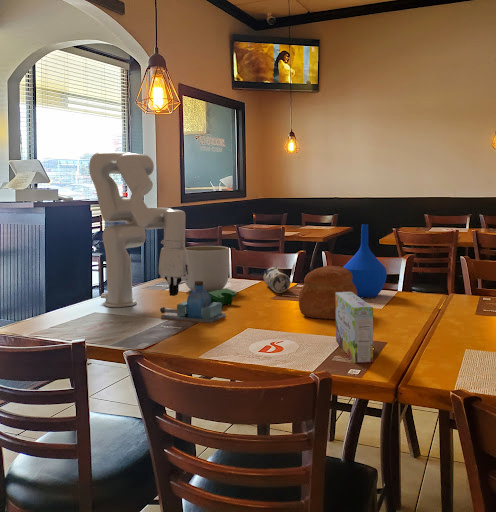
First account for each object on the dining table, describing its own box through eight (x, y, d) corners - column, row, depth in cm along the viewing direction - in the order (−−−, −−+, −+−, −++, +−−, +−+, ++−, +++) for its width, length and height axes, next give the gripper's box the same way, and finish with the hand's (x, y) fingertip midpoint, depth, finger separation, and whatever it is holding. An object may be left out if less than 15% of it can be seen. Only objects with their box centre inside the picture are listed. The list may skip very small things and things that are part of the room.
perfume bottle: (196, 312, 202) (195, 279, 201) (211, 313, 200) (210, 280, 198) (187, 316, 197) (186, 282, 195) (203, 317, 194) (202, 283, 193)
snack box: (333, 341, 166) (334, 291, 164) (352, 341, 166) (353, 291, 165) (353, 364, 145) (354, 306, 143) (374, 363, 146) (375, 306, 144)
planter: (228, 294, 241) (227, 250, 238) (180, 295, 241) (179, 251, 239) (230, 286, 261) (230, 245, 259) (186, 286, 262) (185, 246, 259)
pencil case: (262, 286, 261) (262, 265, 260) (280, 285, 262) (280, 264, 261) (272, 295, 240) (271, 272, 239) (291, 294, 241) (291, 271, 240)
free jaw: (159, 314, 199) (158, 303, 199) (173, 309, 208) (172, 298, 207) (184, 316, 195) (184, 305, 194) (198, 311, 204) (197, 300, 203)
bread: (295, 317, 198) (295, 270, 196) (315, 305, 217) (315, 262, 215) (343, 322, 190) (343, 273, 188) (360, 309, 209) (360, 264, 207)
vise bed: (161, 318, 198) (160, 304, 198) (177, 311, 208) (176, 298, 208) (211, 322, 190) (211, 308, 190) (225, 316, 200) (225, 302, 200)
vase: (392, 294, 238) (393, 223, 234) (377, 301, 222) (378, 226, 219) (351, 290, 248) (352, 222, 244) (334, 297, 232) (335, 225, 229)
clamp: (218, 318, 216) (215, 300, 211) (207, 313, 219) (204, 294, 214) (239, 302, 223) (236, 284, 218) (228, 297, 226) (225, 279, 221)
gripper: (150, 244, 199) (150, 294, 202) (187, 247, 193) (186, 299, 196) (162, 241, 206) (161, 290, 208) (198, 245, 200) (197, 295, 203)
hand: (173, 295), depth 202 cm, fingers closed
